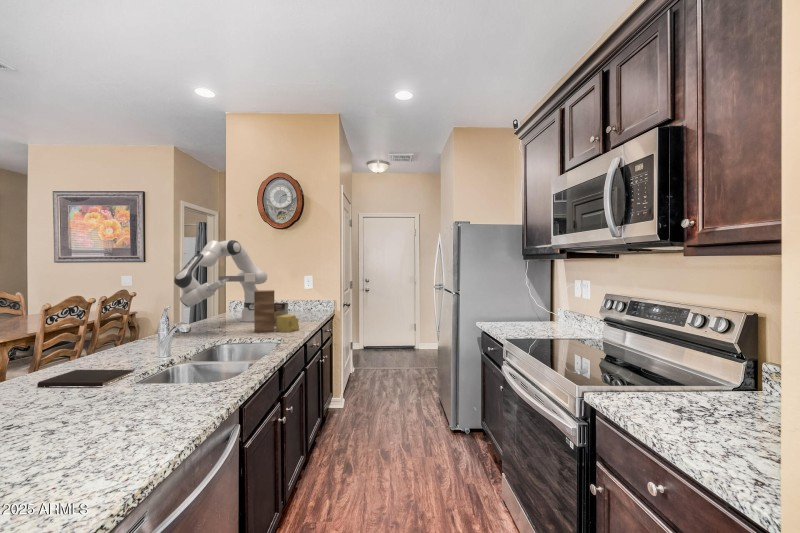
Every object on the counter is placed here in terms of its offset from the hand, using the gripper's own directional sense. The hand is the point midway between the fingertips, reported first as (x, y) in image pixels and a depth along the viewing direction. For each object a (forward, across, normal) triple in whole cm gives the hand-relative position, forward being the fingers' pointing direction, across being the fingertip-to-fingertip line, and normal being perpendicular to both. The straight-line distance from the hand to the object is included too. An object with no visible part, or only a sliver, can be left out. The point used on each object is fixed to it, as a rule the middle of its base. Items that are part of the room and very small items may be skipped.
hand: (229, 278), depth 239 cm
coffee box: (+10, +18, +46) cm, 50 cm away
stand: (+1, 0, +40) cm, 40 cm away
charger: (+3, 0, +4) cm, 5 cm away
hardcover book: (-51, -91, +11) cm, 105 cm away
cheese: (+13, -4, +48) cm, 50 cm away
